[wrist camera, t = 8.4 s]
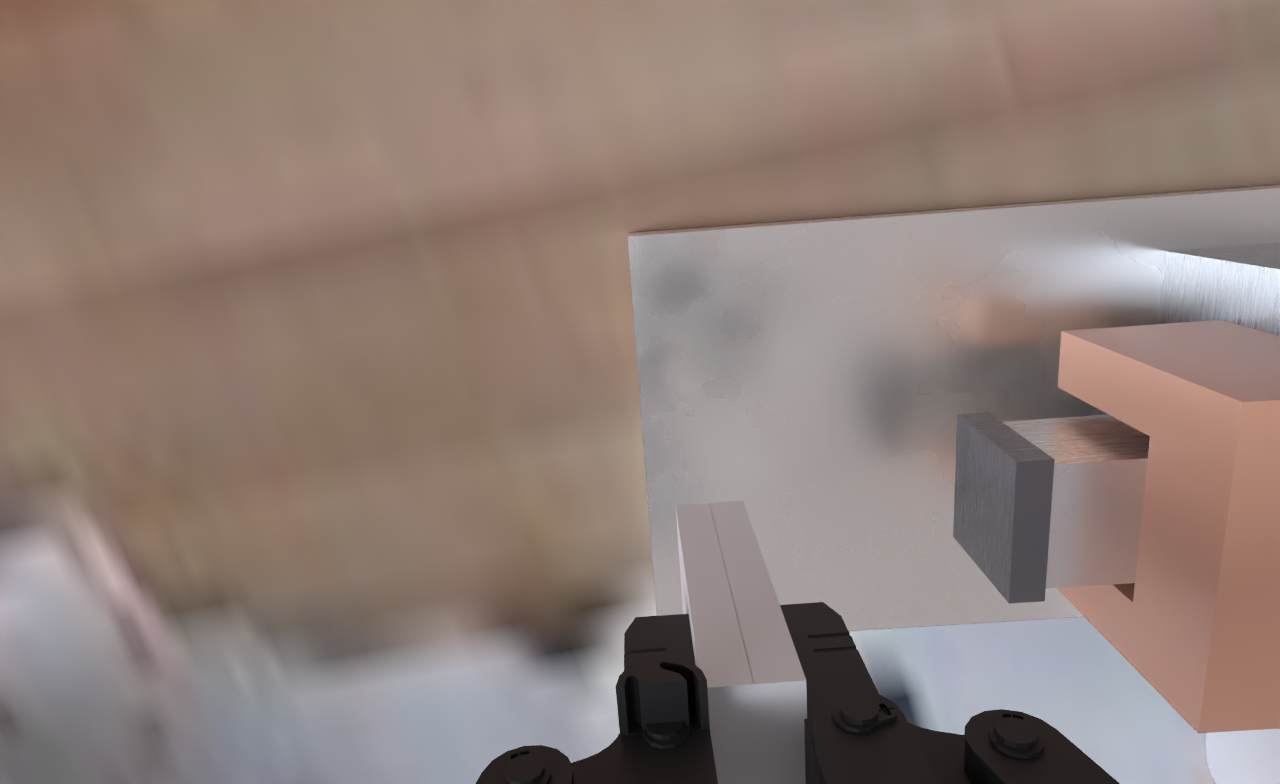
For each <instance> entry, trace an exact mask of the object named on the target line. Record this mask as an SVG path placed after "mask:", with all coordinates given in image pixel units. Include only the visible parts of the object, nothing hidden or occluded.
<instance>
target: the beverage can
mask: <svg viewBox="0 0 1280 784" xmlns="http://www.w3.org/2000/svg"><path fill="white" fill-rule="evenodd" d="M1205 747H1206V758H1207V763H1208V767H1209V770H1210V773H1211V776H1212V778H1213V780H1214V782H1215V784H1280V729H1263V730H1246V731H1228V732H1211V733H1206V743H1205Z"/></svg>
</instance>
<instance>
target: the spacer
mask: <svg viewBox="0 0 1280 784" xmlns="http://www.w3.org/2000/svg"><path fill="white" fill-rule="evenodd" d="M1058 388H1060V389H1062V390H1064V391H1066V392H1068V393H1069V394H1071V395H1073V396H1075V397H1077V398H1079V399H1081V400H1083V401H1084V402H1086V403H1088V404H1090V405H1092V406H1094V407H1096V408H1098V409H1099V410H1101V411H1103V412H1105V413H1107V414H1109V415H1111V416H1113V417H1114V418H1116V419H1118V420H1120V421H1122V422H1124V423H1126V424H1128V425H1129V426H1131V427H1133V428H1135V429H1137V430H1139V431H1141V432H1143V433H1144V434H1146V435H1148V436H1150V441H1149V450H1148V460H1147V470H1146V480H1145V489H1144V499H1143V509H1142V519H1141V528H1140V538H1139V548H1138V558H1137V567H1136V577H1135V583H1128V584H1111V585H1095V586H1079V587H1063V588H1057V589H1058V590H1059V591H1060V592H1061V593H1062V594H1063V595H1064V596H1065V597H1066V598H1067V599H1068V600H1069V601H1070V602H1071V603H1072V604H1073V605H1074V606H1075V608H1076V609H1077V610H1078V611H1079V612H1080V613H1081V614H1082V615H1083V616H1084V617H1085V618H1086V619H1087V620H1088V621H1089V622H1090V623H1091V624H1092V625H1093V626H1094V627H1095V628H1096V629H1097V630H1098V631H1099V632H1100V633H1101V634H1102V635H1103V636H1104V637H1105V638H1106V639H1107V640H1108V641H1109V642H1110V643H1111V644H1112V645H1113V646H1114V647H1115V648H1116V649H1117V650H1118V652H1119V653H1120V654H1121V655H1122V656H1123V657H1124V658H1125V659H1126V660H1127V661H1128V662H1129V663H1130V664H1131V665H1132V666H1133V667H1134V668H1135V669H1136V670H1137V671H1138V672H1139V673H1140V674H1141V675H1142V676H1143V677H1144V678H1145V679H1146V680H1147V681H1148V682H1149V683H1150V684H1151V685H1152V686H1153V687H1154V688H1155V689H1156V690H1157V691H1158V692H1159V693H1160V694H1161V696H1162V697H1163V698H1164V699H1165V700H1166V701H1167V702H1168V703H1169V704H1170V705H1171V706H1172V707H1173V708H1174V709H1175V710H1176V711H1177V712H1178V713H1179V714H1180V715H1181V716H1182V717H1183V718H1184V719H1185V720H1186V721H1187V722H1188V723H1189V724H1190V725H1191V726H1192V727H1193V728H1194V729H1195V730H1196V731H1197V732H1198V733H1211V732H1228V731H1246V730H1263V729H1280V336H1278V335H1274V334H1271V333H1267V332H1263V331H1259V330H1256V329H1252V328H1248V327H1244V326H1241V325H1237V324H1233V323H1229V322H1225V321H1222V320H1211V321H1197V322H1183V323H1168V324H1154V325H1140V326H1126V327H1111V328H1097V329H1083V330H1069V331H1061V344H1060V358H1059V373H1058Z"/></svg>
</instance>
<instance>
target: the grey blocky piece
mask: <svg viewBox="0 0 1280 784" xmlns="http://www.w3.org/2000/svg"><path fill="white" fill-rule="evenodd" d="M628 246H629V259H630V272H631V285H632V298H633V311H634V324H635V337H636V350H637V363H638V376H639V389H640V403H641V416H642V429H643V442H644V455H645V468H646V481H647V494H648V507H649V520H650V533H651V546H652V559H653V572H654V585H655V598H656V612H657V616H662V615H676V614H683V608H682V593H681V578H680V562H679V547H678V532H677V517H676V505H688V504H701V503H715V502H729V501H742V500H743V502H744V504H745V507H746V510H747V513H748V516H749V519H750V521H751V524H752V527H753V530H754V533H755V536H756V539H757V541H758V544H759V547H760V550H761V553H762V556H763V558H764V561H765V564H766V567H767V570H768V573H769V576H770V578H771V581H772V584H773V587H774V590H775V593H776V596H777V598H778V601H779V604H780V605H787V604H801V603H815V602H824V603H825V604H826V605H828V606H829V607H830V608H832V609H833V610H834V611H835V612H837V613H838V614H839V615H841V617H842V619H843V621H844V623H845V625H846V627H847V629H848V631H859V630H875V629H892V628H908V627H924V626H941V625H957V624H974V623H990V622H1006V621H1023V620H1039V619H1056V618H1072V617H1084V616H1083V615H1082V614H1081V613H1080V612H1079V611H1078V610H1077V609H1076V608H1075V606H1074V605H1073V604H1072V603H1071V602H1070V601H1069V600H1068V599H1067V598H1066V597H1065V596H1064V595H1063V594H1062V593H1061V592H1060V591H1059V590H1058V589H1057V588H1047V589H1046V591H1045V601H1042V602H1026V603H1008V602H1007V601H1006V600H1005V598H1004V597H1003V596H1002V595H1001V594H1000V592H999V591H998V590H997V589H996V588H995V586H994V585H993V584H992V583H991V582H990V580H989V579H988V578H987V577H986V576H985V574H984V573H983V572H982V571H981V570H980V568H979V567H978V566H977V565H976V564H975V562H974V561H973V560H972V559H971V558H970V556H969V555H968V554H967V553H966V552H965V550H964V549H963V548H962V547H961V546H960V544H959V543H958V542H957V541H956V540H955V538H954V537H953V524H954V495H955V465H956V436H957V415H960V414H975V413H990V414H992V415H993V416H995V417H996V418H997V419H999V420H1000V421H1002V422H1005V421H1020V420H1035V419H1050V418H1065V417H1080V416H1094V415H1109V414H1107V413H1105V412H1103V411H1101V410H1099V409H1098V408H1096V407H1094V406H1092V405H1090V404H1088V403H1086V402H1084V401H1083V400H1081V399H1079V398H1077V397H1075V396H1073V395H1071V394H1069V393H1068V392H1066V391H1064V390H1062V389H1060V388H1058V373H1059V358H1060V344H1061V331H1069V330H1083V329H1097V328H1111V327H1126V326H1140V325H1154V324H1168V323H1183V322H1197V321H1211V320H1222V321H1225V322H1229V323H1233V324H1237V325H1241V326H1244V327H1248V328H1252V329H1256V330H1259V331H1263V332H1267V333H1271V334H1274V335H1278V336H1280V185H1269V186H1255V187H1242V188H1228V189H1215V190H1201V191H1188V192H1175V193H1161V194H1148V195H1134V196H1121V197H1107V198H1094V199H1080V200H1067V201H1054V202H1040V203H1027V204H1013V205H1000V206H986V207H973V208H959V209H946V210H932V211H919V212H906V213H892V214H879V215H865V216H852V217H838V218H825V219H811V220H798V221H785V222H771V223H758V224H744V225H731V226H717V227H704V228H690V229H677V230H664V231H650V232H637V233H629V234H628Z"/></svg>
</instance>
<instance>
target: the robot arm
mask: <svg viewBox="0 0 1280 784" xmlns="http://www.w3.org/2000/svg"><path fill="white" fill-rule="evenodd" d="M676 517H677V532H678V547H679V562H680V578H681V593H682V608H683V614H676V615H662V616H648V617H636V618H635V619H634V621H633V622H632V624H631V625H630V626H629V628H628V629H627V631H626V632H625V647H624V651H625V654H624V668H625V669H624V672H623V673H622V674H621V675H620V676H619V679H618V682H617V685H616V694H617V705H618V716H619V726H620V734H619V735H618V737H617V739H616V740H615V741H614V742H613V743H612V744H611V745H610V746H609V747H607V748H605V749H604V750H602V751H601V752H599V753H598V754H595V755H593V756H590V757H588V758H586V759H583V760H580V761H576V762H573V763H570V761H569V759H568V757H567V756H565V755H564V754H563V753H561V752H560V751H559V750H557V749H554V748H550V747H546V746H542V745H538V746H523V747H520V748H517V749H513V750H510V751H507V752H505V753H504V754H502V755H501V756H499V757H497V758H496V759H494V760H493V761H492V762H491V763H490V764H489V765H488V766H487V767H486V769H485V770H484V771H483V772H482V773H481V775H480V777H479V779H478V781H477V782H476V784H1119V783H1118V782H1117V781H1116V780H1115V779H1114V778H1112V777H1111V776H1110V775H1109V774H1108V773H1107V772H1105V771H1104V770H1103V769H1102V768H1101V767H1100V766H1098V765H1097V764H1096V763H1095V762H1094V761H1093V760H1091V759H1090V758H1089V757H1088V756H1087V755H1086V754H1084V753H1083V752H1082V751H1081V750H1080V749H1079V748H1077V747H1076V746H1075V745H1074V744H1073V743H1072V742H1070V741H1069V740H1068V739H1067V738H1066V737H1065V736H1064V735H1062V734H1061V733H1060V732H1059V731H1058V730H1057V729H1055V728H1053V727H1052V726H1050V725H1049V724H1047V723H1046V722H1044V721H1043V720H1041V719H1039V718H1036V717H1033V716H1031V715H1028V714H1025V713H1022V712H1017V711H1010V710H1002V709H1001V710H991V711H984V712H982V713H980V714H977V715H975V716H973V717H971V719H970V720H969V722H968V723H967V725H966V726H965V735H958V734H952V733H945V732H938V731H933V730H929V729H924V728H921V727H918V726H915V725H913V724H910V723H908V722H907V720H906V718H905V716H904V714H903V713H902V712H901V710H900V709H899V708H898V707H897V706H896V704H895V703H893V702H891V701H889V700H888V699H886V698H884V697H883V696H881V695H879V694H878V691H877V689H876V687H875V685H874V683H873V681H872V679H871V677H870V675H869V673H868V671H867V669H866V667H865V664H864V662H863V660H862V658H861V656H860V654H859V652H858V650H856V646H855V644H854V642H853V640H852V637H851V636H850V635H849V631H848V629H847V627H846V625H845V623H844V621H843V619H842V617H841V615H839V614H838V613H837V612H835V611H834V610H833V609H832V608H830V607H829V606H828V605H826V604H825V603H824V602H815V603H801V604H787V605H780V604H779V601H778V598H777V596H776V593H775V590H774V587H773V584H772V581H771V578H770V576H769V573H768V570H767V567H766V564H765V561H764V558H763V556H762V553H761V550H760V547H759V544H758V541H757V539H756V536H755V533H754V530H753V527H752V524H751V521H750V519H749V516H748V513H747V510H746V507H745V504H744V502H743V500H742V501H729V502H715V503H701V504H688V505H676Z"/></svg>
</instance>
